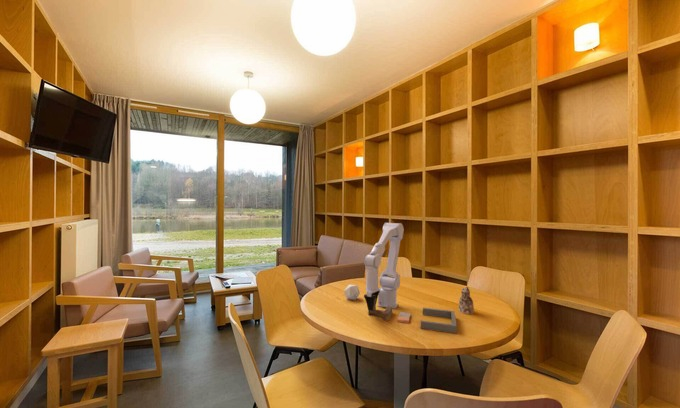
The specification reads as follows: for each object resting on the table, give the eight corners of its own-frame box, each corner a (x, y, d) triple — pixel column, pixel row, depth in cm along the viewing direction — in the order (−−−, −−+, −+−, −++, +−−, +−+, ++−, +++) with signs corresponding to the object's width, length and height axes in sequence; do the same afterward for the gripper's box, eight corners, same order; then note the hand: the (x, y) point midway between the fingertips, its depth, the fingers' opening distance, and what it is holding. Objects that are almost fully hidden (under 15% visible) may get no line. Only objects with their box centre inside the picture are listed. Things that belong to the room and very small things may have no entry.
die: (350, 303, 162) (361, 289, 163) (339, 293, 166) (349, 279, 167) (354, 304, 169) (364, 290, 170) (343, 295, 173) (353, 281, 174)
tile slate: (398, 318, 140) (398, 315, 140) (400, 315, 145) (400, 312, 145) (409, 320, 138) (409, 316, 138) (410, 316, 143) (410, 313, 143)
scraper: (366, 317, 139) (366, 298, 139) (371, 310, 150) (371, 292, 150) (388, 320, 136) (388, 301, 136) (392, 312, 146) (392, 294, 146)
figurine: (456, 311, 149) (456, 287, 149) (461, 308, 154) (462, 285, 154) (470, 315, 144) (470, 290, 144) (476, 311, 149) (476, 288, 149)
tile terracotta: (397, 322, 135) (397, 319, 135) (398, 318, 140) (398, 315, 140) (409, 324, 134) (409, 320, 134) (409, 320, 138) (409, 316, 138)
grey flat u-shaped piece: (420, 328, 128) (420, 321, 128) (422, 313, 146) (422, 307, 146) (456, 333, 123) (456, 326, 123) (454, 317, 141) (454, 311, 141)
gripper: (377, 283, 136) (377, 313, 136) (383, 276, 150) (382, 303, 150) (362, 282, 138) (362, 311, 138) (369, 275, 152) (369, 302, 152)
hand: (372, 307), depth 144 cm, fingers open, 7 cm apart
